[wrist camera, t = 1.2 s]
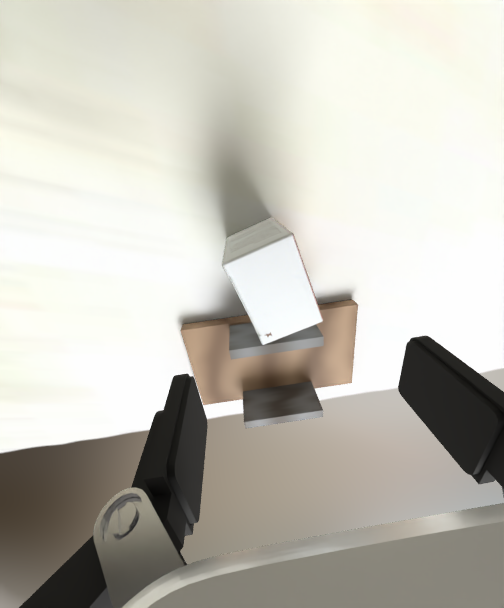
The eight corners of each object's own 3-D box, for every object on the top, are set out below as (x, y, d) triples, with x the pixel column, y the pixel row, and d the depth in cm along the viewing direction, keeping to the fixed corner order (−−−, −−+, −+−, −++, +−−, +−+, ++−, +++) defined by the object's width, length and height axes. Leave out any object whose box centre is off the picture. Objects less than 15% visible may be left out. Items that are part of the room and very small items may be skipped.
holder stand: (352, 299, 31) (380, 325, 25) (347, 375, 37) (368, 411, 31) (182, 324, 31) (171, 356, 25) (204, 396, 36) (199, 436, 31)
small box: (295, 279, 29) (325, 323, 20) (253, 296, 30) (263, 348, 20) (272, 214, 26) (295, 231, 16) (224, 236, 26) (220, 264, 17)
